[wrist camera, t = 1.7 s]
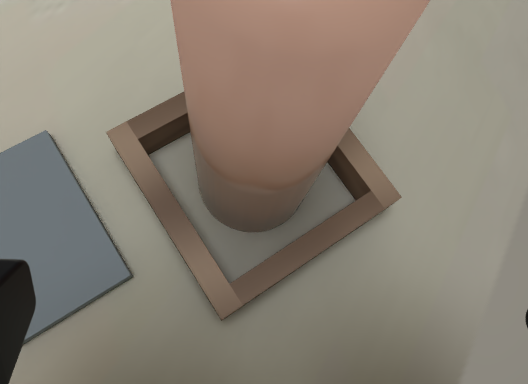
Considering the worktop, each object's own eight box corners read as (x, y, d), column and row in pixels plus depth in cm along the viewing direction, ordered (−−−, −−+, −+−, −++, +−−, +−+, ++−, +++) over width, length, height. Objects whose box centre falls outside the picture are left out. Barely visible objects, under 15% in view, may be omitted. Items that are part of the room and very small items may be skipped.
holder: (385, 208, 22) (401, 197, 20) (221, 320, 19) (221, 319, 17) (277, 63, 23) (282, 40, 22) (116, 149, 21) (105, 132, 19)
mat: (133, 276, 19) (130, 275, 19) (-47, 387, 18) (-56, 389, 17) (50, 135, 21) (46, 130, 20) (-123, 222, 19) (-134, 219, 19)
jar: (325, 195, 21) (497, -22, 8) (236, 253, 20) (266, 107, 7) (266, 113, 23) (333, -198, 9) (178, 163, 21) (107, -114, 8)
